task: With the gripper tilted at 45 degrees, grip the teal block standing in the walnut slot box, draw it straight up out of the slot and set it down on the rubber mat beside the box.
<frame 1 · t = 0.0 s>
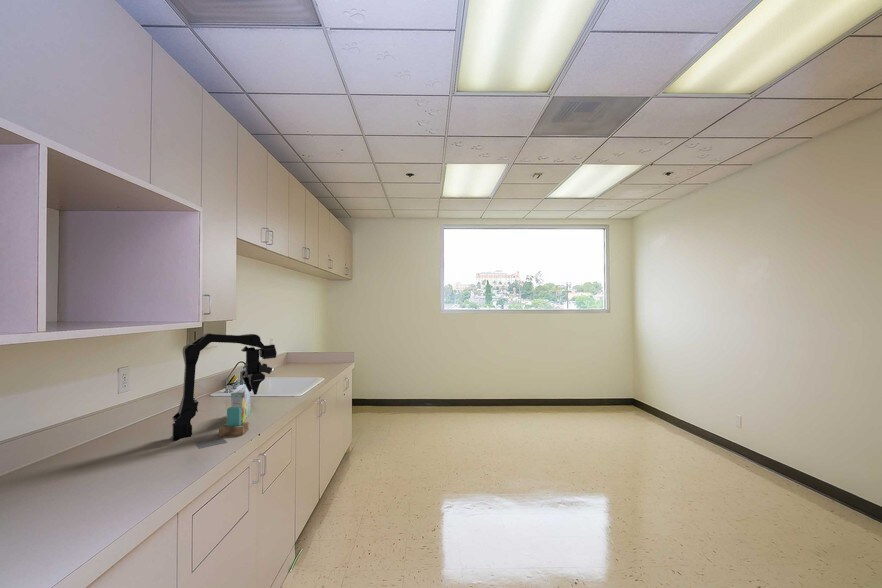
hand: (252, 392, 184), 15 cm above the counter, tool pointing down, fingers open, 9 cm apart
rubber mat: (210, 443, 157), on the counter
teal block: (234, 433, 169), resting on slot box
snack box: (241, 418, 194), on the counter
slot box: (234, 434, 169), on the counter
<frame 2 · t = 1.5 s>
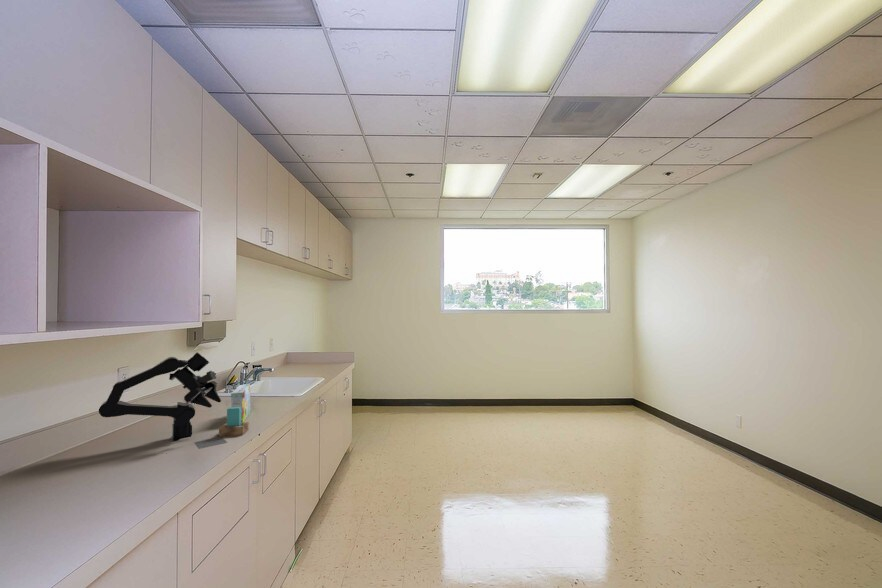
hand: (215, 404, 168), 13 cm above the counter, tool tilted 45°, fingers open, 9 cm apart
nothing on the counter moved.
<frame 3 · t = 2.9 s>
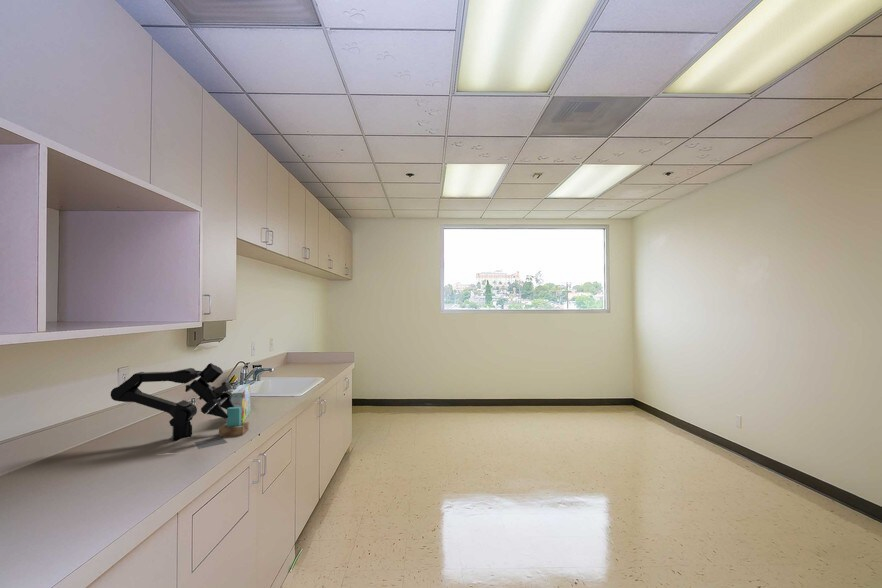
hand: (231, 414, 169), 9 cm above the counter, tool tilted 45°, fingers open, 9 cm apart
nothing on the counter moved.
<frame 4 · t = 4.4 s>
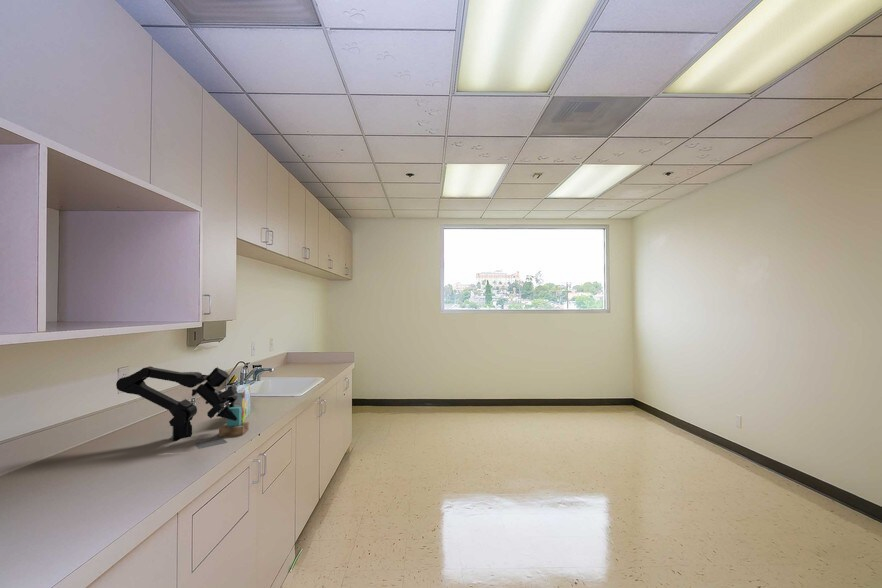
hand: (237, 418, 169), 7 cm above the counter, tool tilted 45°, fingers closed on teal block, 2 cm apart
teal block: (234, 433, 169), resting on slot box, touching gripper
everything else where it was.
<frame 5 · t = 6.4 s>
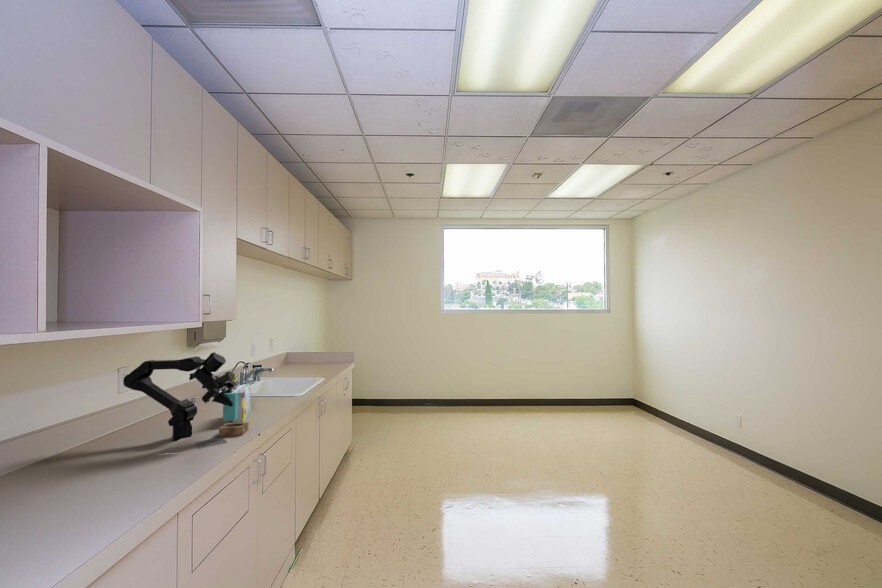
hand: (233, 404, 166), 13 cm above the counter, tool tilted 45°, fingers closed on teal block, 2 cm apart
teal block: (230, 419, 166), point 7 cm above the counter, touching gripper
everything else where it was.
when the fingers open (7 cm above the counter, at t = 8.7 s): teal block stays where it is, resting on rubber mat.
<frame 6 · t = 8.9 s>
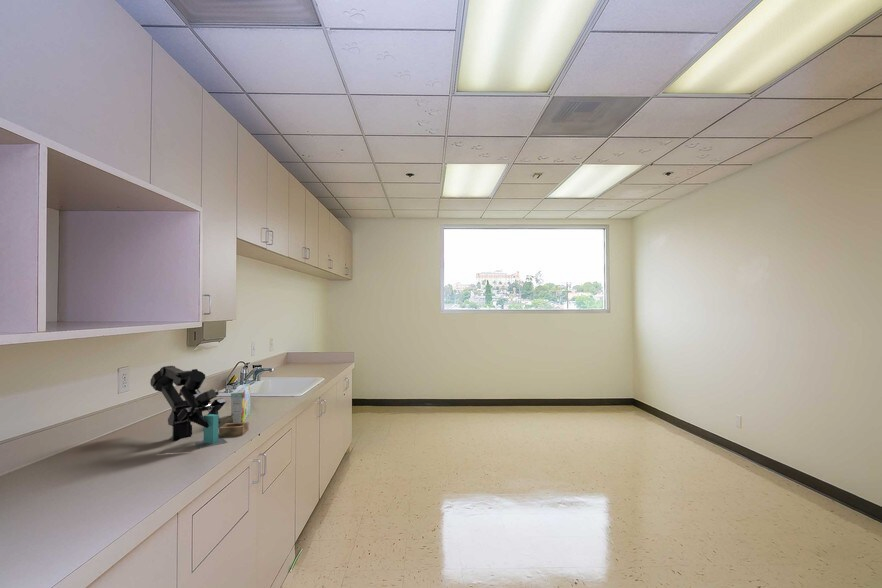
hand: (213, 425, 157), 8 cm above the counter, tool tilted 45°, fingers open, 5 cm apart
teal block: (210, 442, 157), resting on rubber mat
everything else where it was.
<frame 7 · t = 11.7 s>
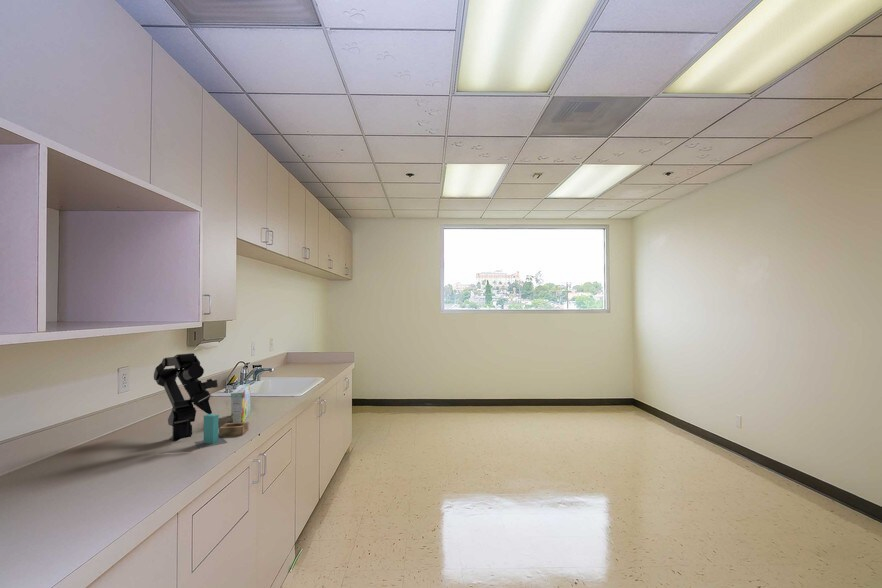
hand: (209, 413, 165), 10 cm above the counter, tool tilted 30°, fingers open, 9 cm apart
nothing on the counter moved.
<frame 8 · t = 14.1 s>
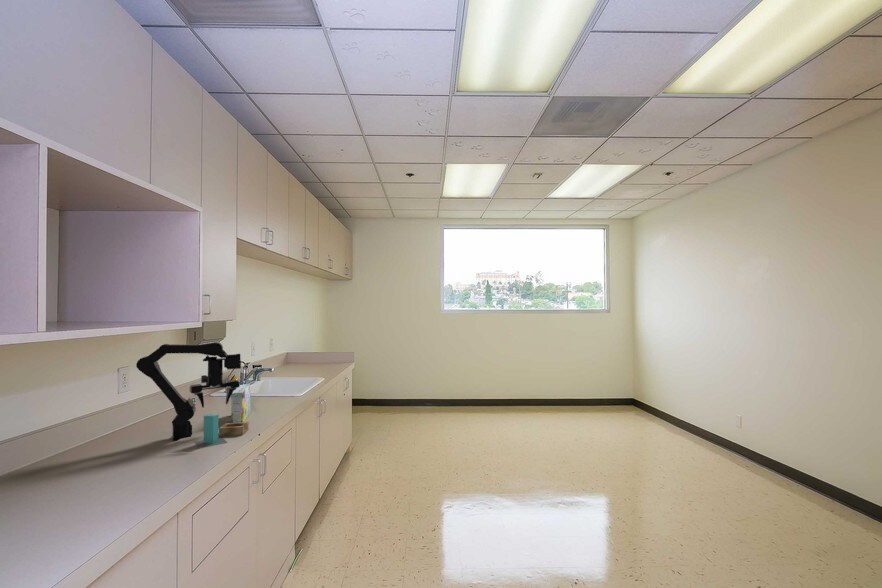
hand: (214, 405, 171), 12 cm above the counter, tool pointing down, fingers open, 9 cm apart
nothing on the counter moved.
at the end: teal block inside the target area on the rubber mat (0.0 cm from its centre), point 0.5 cm above the rubber mat's base; the gripper is holding nothing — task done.
